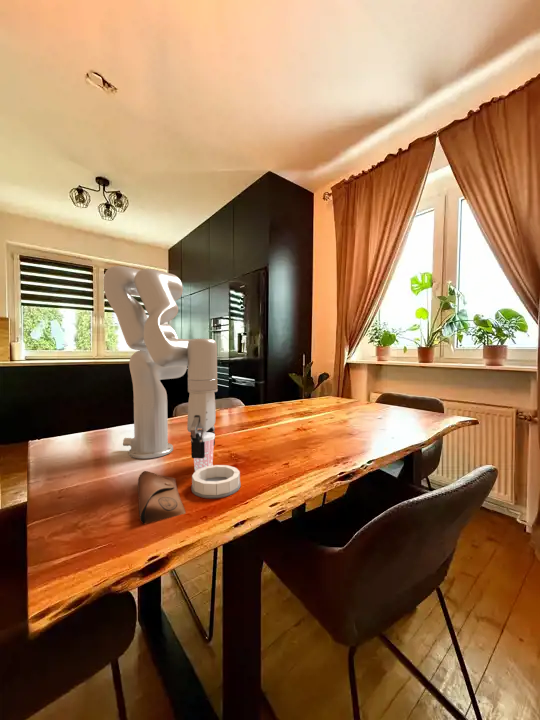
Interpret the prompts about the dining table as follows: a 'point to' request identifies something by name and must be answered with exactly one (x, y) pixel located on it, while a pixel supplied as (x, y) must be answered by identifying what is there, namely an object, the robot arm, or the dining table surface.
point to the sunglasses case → (158, 498)
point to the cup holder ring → (216, 481)
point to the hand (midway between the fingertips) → (203, 451)
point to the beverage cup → (206, 452)
